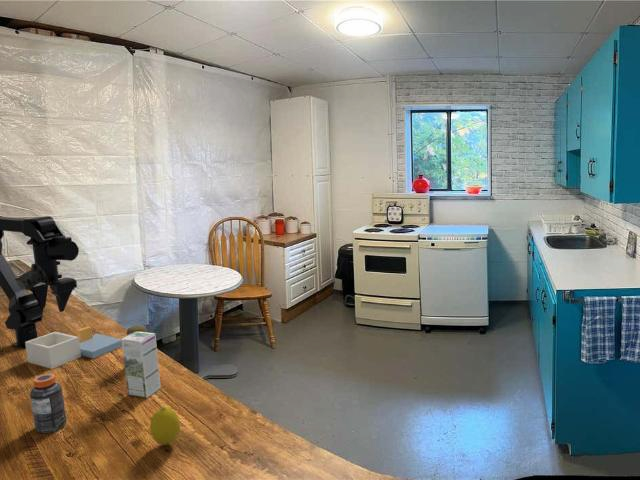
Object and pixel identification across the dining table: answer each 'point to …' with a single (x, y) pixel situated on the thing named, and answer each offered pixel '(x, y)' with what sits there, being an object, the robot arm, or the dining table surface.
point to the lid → (96, 343)
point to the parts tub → (53, 349)
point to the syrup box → (141, 364)
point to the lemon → (165, 425)
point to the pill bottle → (47, 404)
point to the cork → (136, 329)
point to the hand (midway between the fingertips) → (52, 309)
